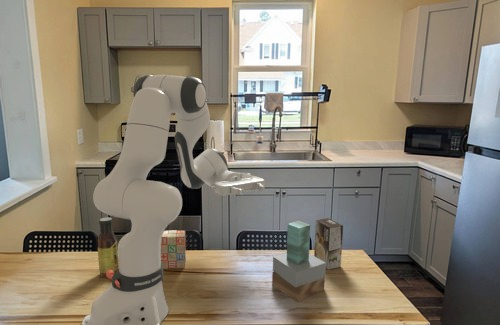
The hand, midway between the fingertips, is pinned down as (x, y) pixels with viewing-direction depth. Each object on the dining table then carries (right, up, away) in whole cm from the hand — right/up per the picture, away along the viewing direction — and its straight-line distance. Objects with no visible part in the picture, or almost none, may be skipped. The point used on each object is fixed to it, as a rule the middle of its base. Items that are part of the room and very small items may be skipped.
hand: (252, 190), depth 120 cm
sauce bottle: (-50, -29, -2) cm, 58 cm away
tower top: (+15, -26, -10) cm, 32 cm away
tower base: (+15, -31, -9) cm, 36 cm away
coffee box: (+28, -28, +8) cm, 41 cm away
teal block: (+14, -21, -11) cm, 28 cm away
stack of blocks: (-36, -28, +4) cm, 46 cm away
